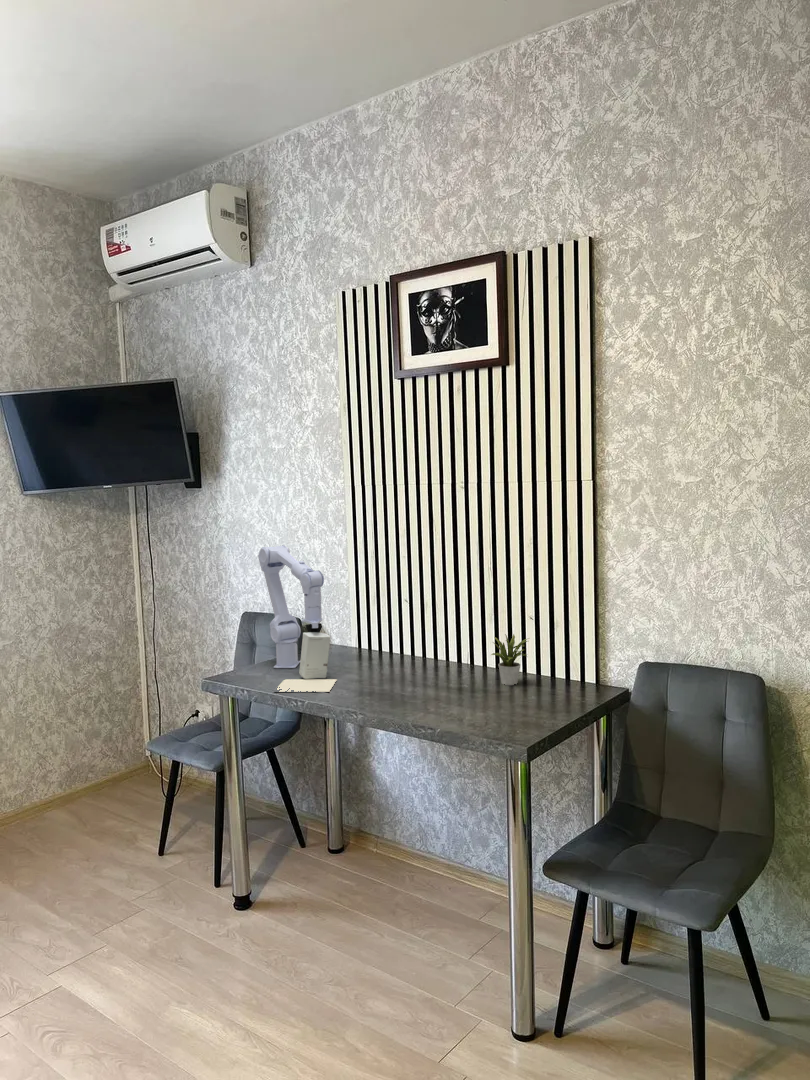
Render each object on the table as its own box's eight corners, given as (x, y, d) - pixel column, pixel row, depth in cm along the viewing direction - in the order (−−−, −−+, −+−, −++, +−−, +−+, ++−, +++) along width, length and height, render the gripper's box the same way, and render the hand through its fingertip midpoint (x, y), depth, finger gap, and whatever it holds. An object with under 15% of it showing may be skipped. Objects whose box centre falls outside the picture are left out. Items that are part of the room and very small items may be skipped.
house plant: (537, 689, 250) (536, 638, 249) (493, 690, 250) (492, 639, 249) (529, 678, 265) (529, 629, 263) (488, 679, 265) (487, 630, 263)
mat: (284, 680, 269) (284, 679, 269) (337, 680, 267) (337, 679, 267) (273, 693, 254) (273, 691, 254) (329, 693, 252) (329, 691, 252)
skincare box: (304, 679, 267) (307, 636, 265) (298, 673, 273) (301, 631, 270) (327, 678, 271) (331, 636, 269) (321, 672, 276) (325, 631, 274)
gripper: (300, 603, 280) (301, 641, 282) (302, 610, 266) (304, 650, 267) (320, 602, 282) (321, 640, 283) (323, 609, 268) (325, 648, 269)
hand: (314, 645), depth 275 cm, fingers closed
